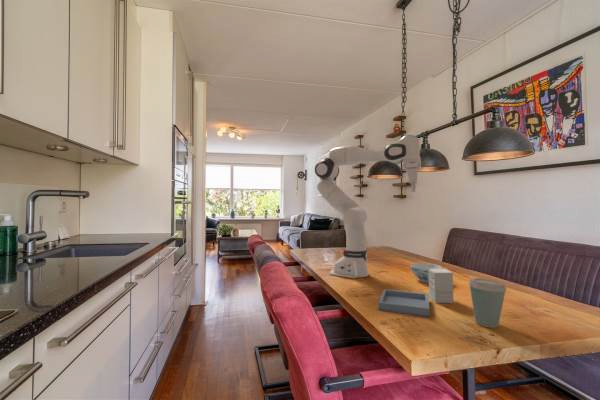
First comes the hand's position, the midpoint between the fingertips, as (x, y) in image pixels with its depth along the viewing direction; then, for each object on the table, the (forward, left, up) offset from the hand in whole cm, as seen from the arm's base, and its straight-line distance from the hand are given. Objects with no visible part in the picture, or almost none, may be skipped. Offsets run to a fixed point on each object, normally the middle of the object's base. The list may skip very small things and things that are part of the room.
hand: (413, 191), depth 149 cm
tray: (-4, -40, -47) cm, 62 cm away
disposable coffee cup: (+23, -48, -48) cm, 71 cm away
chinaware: (+5, +2, -48) cm, 48 cm away
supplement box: (+10, -28, -48) cm, 56 cm away
